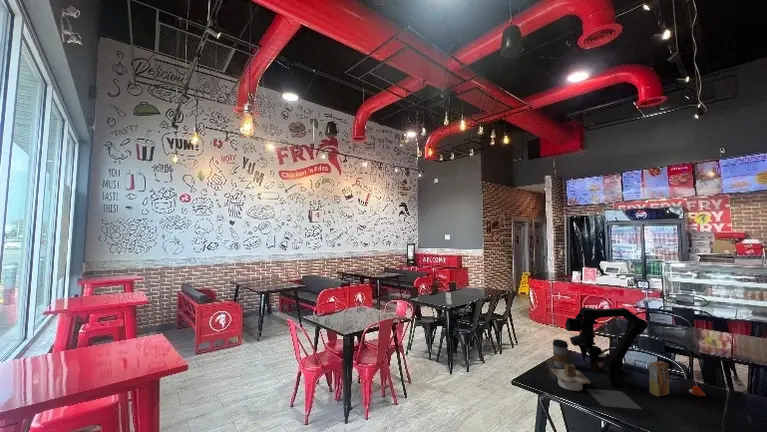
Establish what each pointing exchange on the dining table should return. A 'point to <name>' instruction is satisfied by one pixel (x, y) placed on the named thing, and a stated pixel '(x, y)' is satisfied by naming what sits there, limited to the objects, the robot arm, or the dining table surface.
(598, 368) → the coffee mug
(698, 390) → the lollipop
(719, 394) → the dining table surface
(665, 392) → the candy box
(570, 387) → the bowl
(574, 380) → the cover tile
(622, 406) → the mat
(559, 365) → the coffee cup
